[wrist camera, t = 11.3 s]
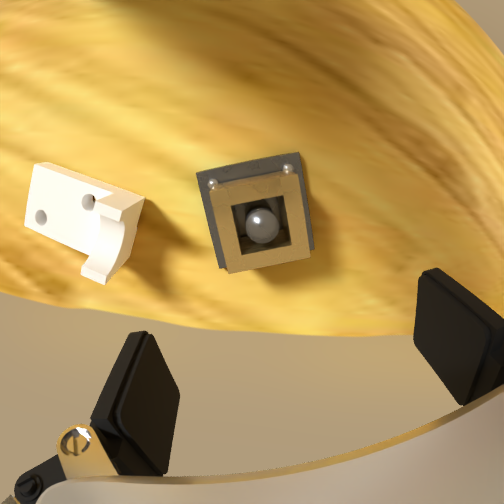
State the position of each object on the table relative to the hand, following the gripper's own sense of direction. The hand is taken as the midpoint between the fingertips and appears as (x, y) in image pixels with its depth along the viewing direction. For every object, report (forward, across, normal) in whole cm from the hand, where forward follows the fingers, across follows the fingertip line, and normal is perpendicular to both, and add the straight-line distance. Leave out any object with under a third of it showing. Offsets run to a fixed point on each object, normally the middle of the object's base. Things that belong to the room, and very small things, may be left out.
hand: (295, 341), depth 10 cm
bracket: (+22, +18, -4) cm, 29 cm away
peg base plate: (+22, 0, 0) cm, 22 cm away
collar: (+20, 0, 0) cm, 20 cm away
